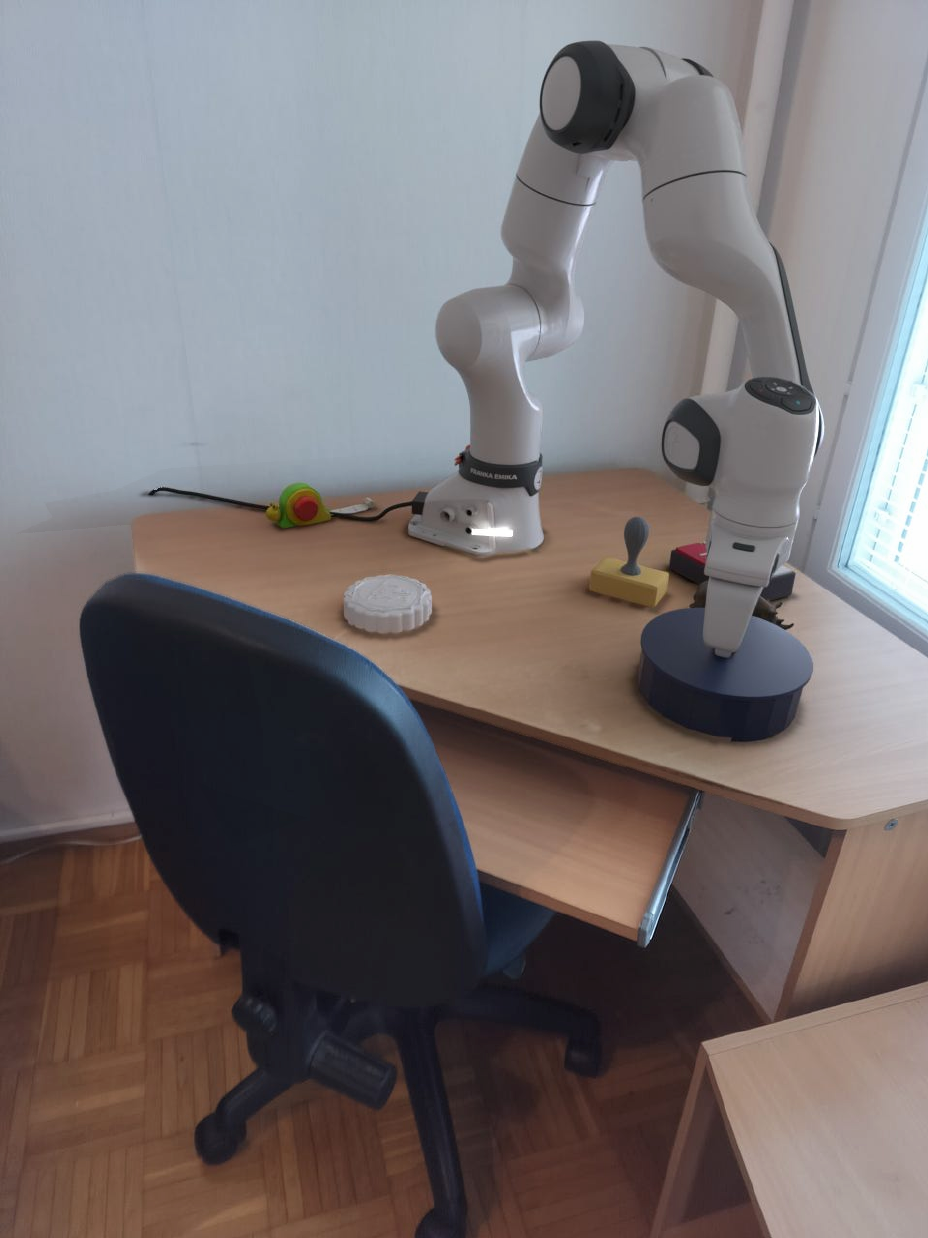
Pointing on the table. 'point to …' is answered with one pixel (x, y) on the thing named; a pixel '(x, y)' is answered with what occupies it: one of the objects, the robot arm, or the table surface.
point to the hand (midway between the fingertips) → (725, 645)
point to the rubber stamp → (630, 571)
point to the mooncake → (387, 604)
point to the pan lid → (749, 674)
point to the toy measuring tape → (306, 507)
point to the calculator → (692, 567)
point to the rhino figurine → (760, 611)
